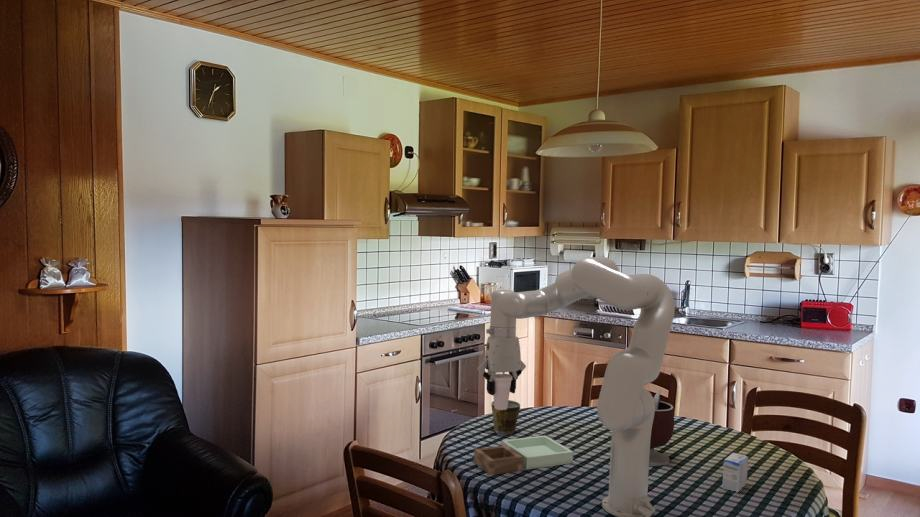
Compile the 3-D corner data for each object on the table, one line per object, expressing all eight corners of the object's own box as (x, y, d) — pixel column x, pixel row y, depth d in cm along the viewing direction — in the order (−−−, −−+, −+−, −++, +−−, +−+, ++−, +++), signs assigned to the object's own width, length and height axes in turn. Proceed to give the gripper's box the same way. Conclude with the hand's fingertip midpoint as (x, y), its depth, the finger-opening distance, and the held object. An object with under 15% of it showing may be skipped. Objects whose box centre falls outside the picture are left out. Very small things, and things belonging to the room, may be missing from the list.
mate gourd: (665, 470, 192) (668, 404, 191) (620, 460, 200) (622, 396, 199) (678, 455, 205) (681, 393, 204) (635, 446, 213) (638, 386, 212)
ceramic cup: (496, 425, 230) (498, 398, 229) (523, 430, 226) (524, 402, 225) (482, 435, 218) (483, 406, 218) (509, 441, 214) (510, 411, 213)
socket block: (522, 470, 188) (522, 457, 188) (489, 475, 184) (490, 461, 184) (505, 458, 198) (505, 445, 198) (473, 462, 193) (474, 449, 193)
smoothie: (510, 412, 186) (511, 363, 185) (488, 410, 187) (489, 362, 187) (513, 406, 192) (514, 359, 192) (491, 404, 193) (492, 358, 193)
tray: (572, 463, 196) (573, 451, 195) (526, 469, 189) (527, 457, 189) (544, 446, 210) (545, 435, 210) (501, 451, 204) (501, 440, 203)
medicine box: (730, 481, 185) (732, 452, 185) (746, 486, 182) (748, 455, 182) (721, 489, 179) (723, 459, 179) (738, 494, 176) (740, 463, 176)
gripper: (482, 335, 182) (480, 398, 183) (535, 333, 189) (533, 393, 190) (470, 331, 189) (469, 392, 189) (522, 329, 196) (520, 388, 196)
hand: (501, 392), depth 190 cm, fingers closed on smoothie, 6 cm apart
